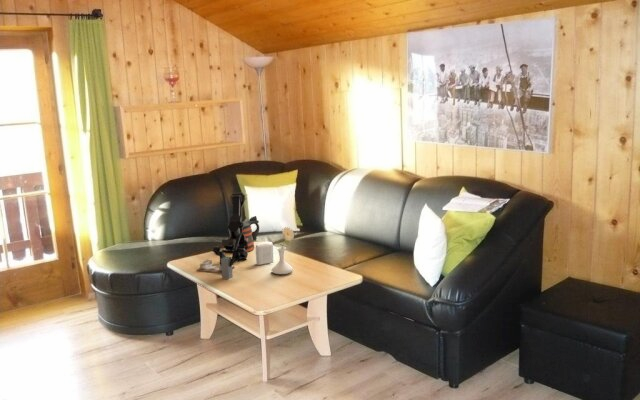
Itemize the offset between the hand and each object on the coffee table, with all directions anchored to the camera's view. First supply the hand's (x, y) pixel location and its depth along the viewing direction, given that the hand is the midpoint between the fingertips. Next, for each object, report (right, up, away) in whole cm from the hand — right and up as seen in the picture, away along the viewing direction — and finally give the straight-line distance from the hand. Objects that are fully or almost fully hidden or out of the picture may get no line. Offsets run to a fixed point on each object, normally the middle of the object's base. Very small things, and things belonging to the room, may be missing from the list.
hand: (225, 266), depth 312 cm
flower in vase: (+30, -5, +8) cm, 32 cm away
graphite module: (+1, -6, +3) cm, 7 cm away
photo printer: (+19, -1, +26) cm, 32 cm away
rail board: (-8, -4, +17) cm, 19 cm away
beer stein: (+4, +4, +54) cm, 55 cm away
